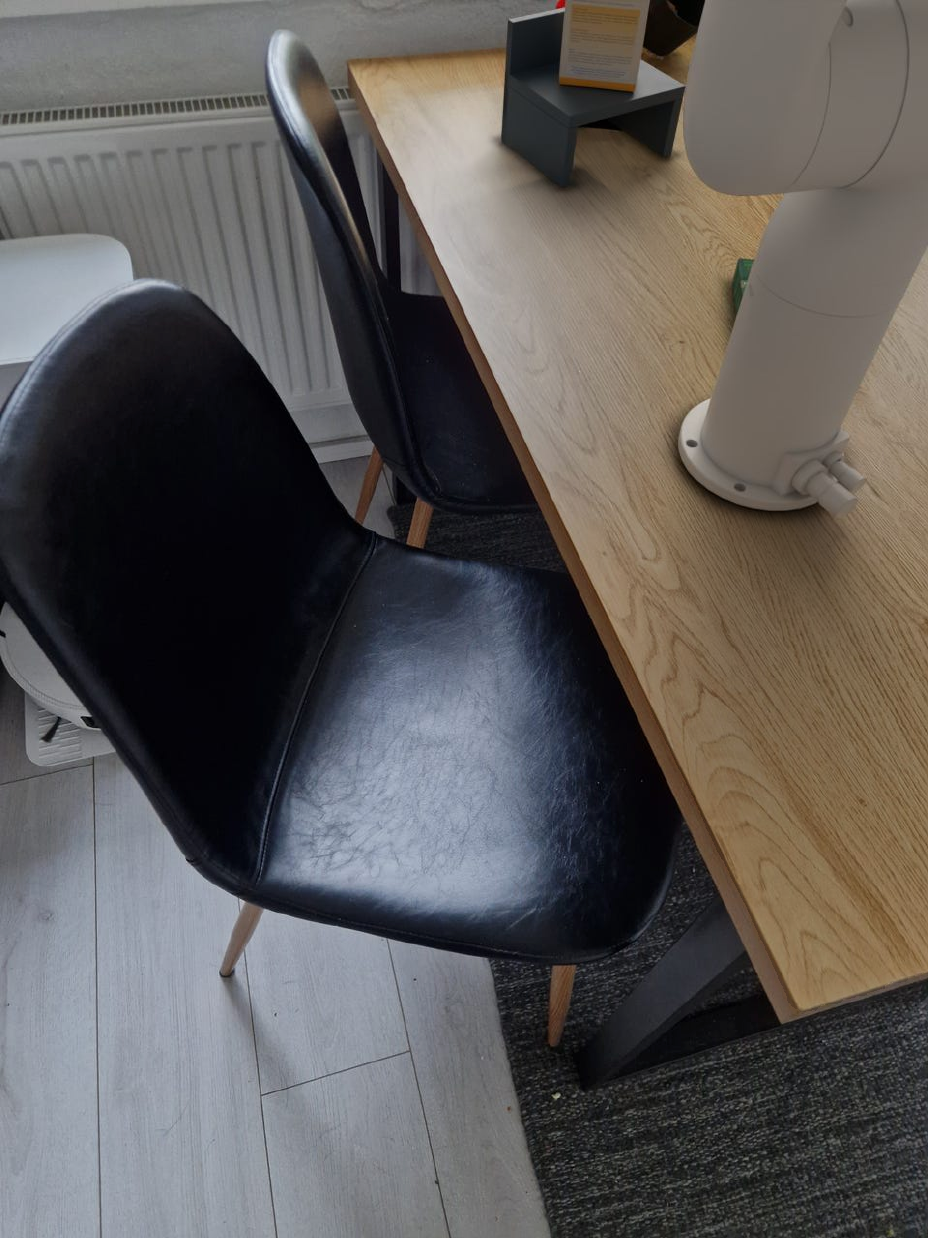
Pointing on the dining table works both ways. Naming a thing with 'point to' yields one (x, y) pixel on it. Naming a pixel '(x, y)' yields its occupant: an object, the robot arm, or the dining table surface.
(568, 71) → the supplement box
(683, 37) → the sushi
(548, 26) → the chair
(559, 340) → the dining table surface
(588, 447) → the dining table surface
